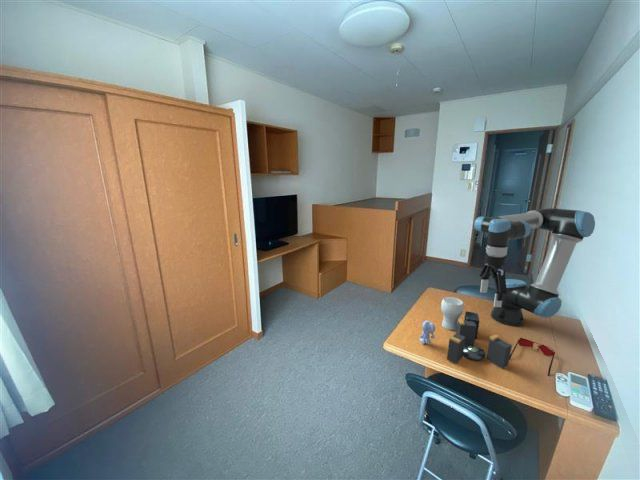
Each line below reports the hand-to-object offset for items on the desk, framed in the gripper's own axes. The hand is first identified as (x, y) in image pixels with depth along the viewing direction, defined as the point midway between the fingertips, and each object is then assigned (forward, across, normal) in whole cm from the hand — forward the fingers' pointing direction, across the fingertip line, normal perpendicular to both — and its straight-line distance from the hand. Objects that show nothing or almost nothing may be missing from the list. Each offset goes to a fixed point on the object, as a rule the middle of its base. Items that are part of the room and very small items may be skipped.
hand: (490, 299), depth 121 cm
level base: (+24, +8, -8) cm, 27 cm away
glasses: (+26, +7, +17) cm, 31 cm away
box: (+25, -9, -3) cm, 27 cm away
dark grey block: (+24, +12, -17) cm, 31 cm away
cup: (+25, -15, -11) cm, 31 cm away
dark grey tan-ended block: (+24, +12, 0) cm, 27 cm away
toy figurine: (+24, +1, -27) cm, 36 cm away
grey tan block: (+24, -2, -8) cm, 26 cm away
